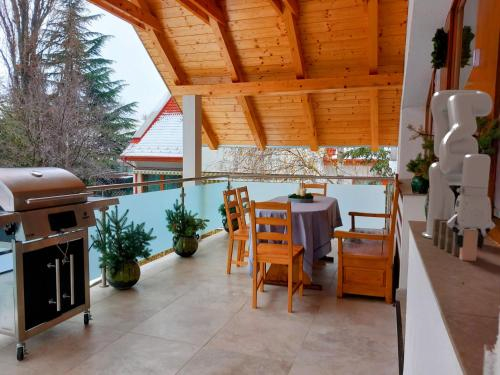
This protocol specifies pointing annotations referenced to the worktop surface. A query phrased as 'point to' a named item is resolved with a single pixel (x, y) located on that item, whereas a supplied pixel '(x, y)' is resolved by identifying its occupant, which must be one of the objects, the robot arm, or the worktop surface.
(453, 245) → the domino
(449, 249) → the domino
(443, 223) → the domino
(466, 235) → the end tile
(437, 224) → the domino
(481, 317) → the worktop surface
